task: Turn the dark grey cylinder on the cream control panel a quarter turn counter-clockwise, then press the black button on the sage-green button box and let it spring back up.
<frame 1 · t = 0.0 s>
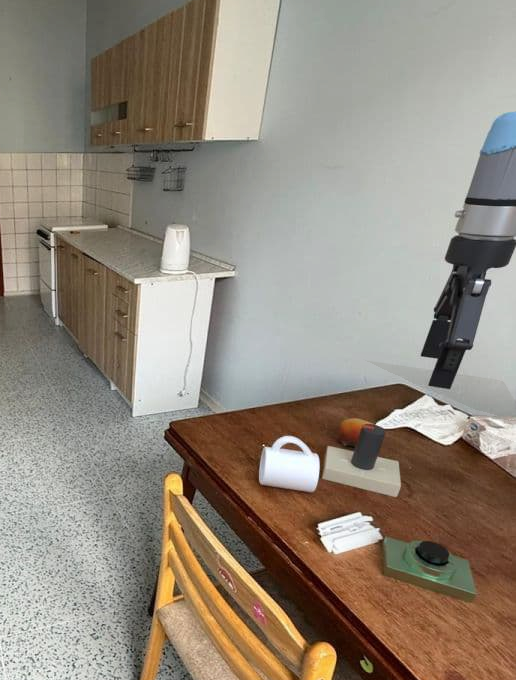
hand: (434, 371, 78), 31 cm above the table, tool pointing down, fingers open, 13 cm apart
button box: (423, 572, 80), on the table
panel: (358, 475, 105), on the table
fruit: (354, 444, 116), on the table
button: (432, 553, 78), point 4 cm above the table, slide at 0.1 cm
mug: (284, 485, 102), on the table
dark grey cylinder: (368, 446, 101), point 8 cm above the table, hinge at 0.0°
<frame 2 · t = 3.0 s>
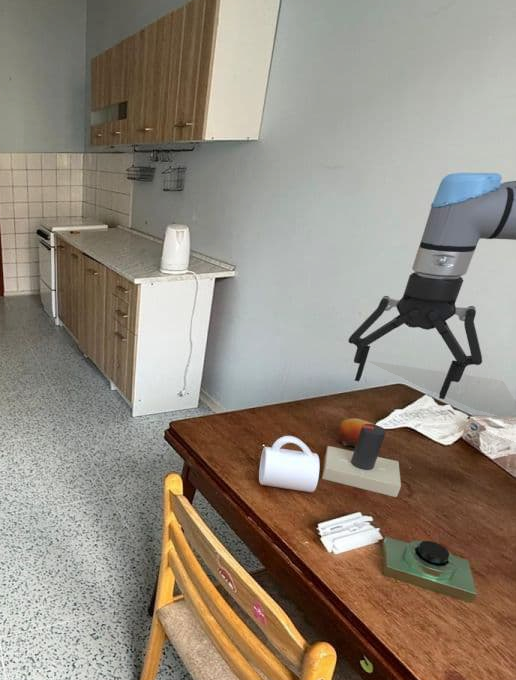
hand: (398, 387, 90), 24 cm above the table, tool pointing down, fingers open, 13 cm apart
nothing on the table moved.
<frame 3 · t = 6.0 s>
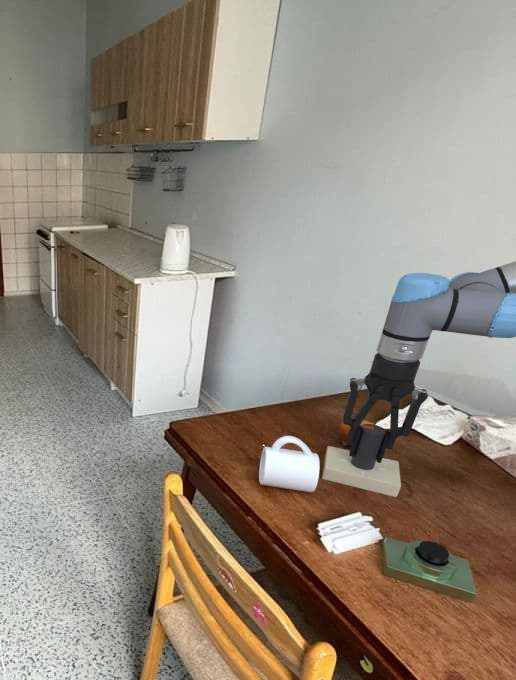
hand: (364, 456, 102), 5 cm above the table, tool pointing down, fingers closed on dark grey cylinder, 4 cm apart
dark grey cylinder: (368, 446, 101), point 8 cm above the table, hinge at 0.0°, touching gripper
everything else where it was.
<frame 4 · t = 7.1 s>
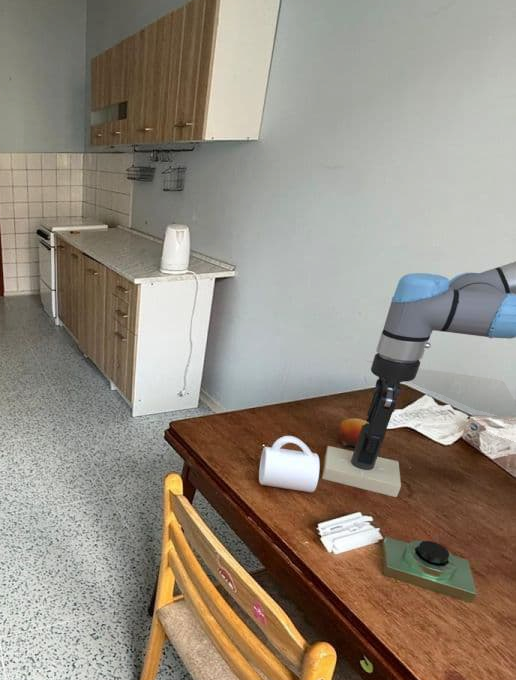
hand: (364, 456, 102), 5 cm above the table, tool pointing down, fingers closed on dark grey cylinder, 4 cm apart
dark grey cylinder: (368, 446, 101), point 8 cm above the table, hinge at 90.3°, touching gripper
everything else where it was.
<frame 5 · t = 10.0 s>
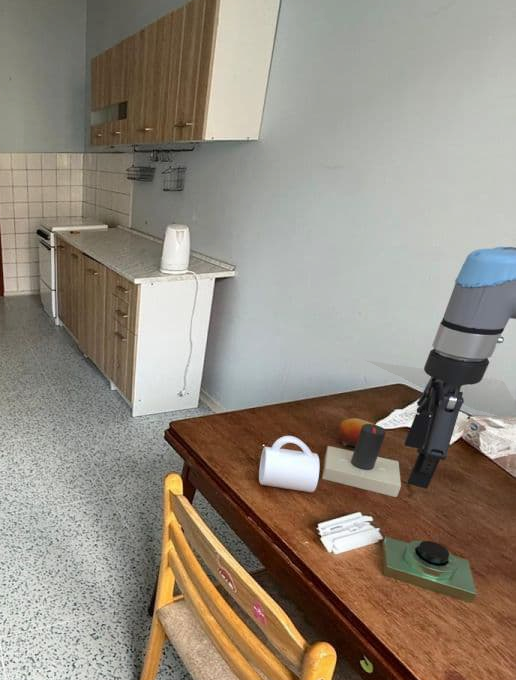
hand: (414, 464, 84), 14 cm above the table, tool pointing down, fingers open, 13 cm apart
dark grey cylinder: (368, 446, 101), point 8 cm above the table, hinge at 90.4°
everything else where it was.
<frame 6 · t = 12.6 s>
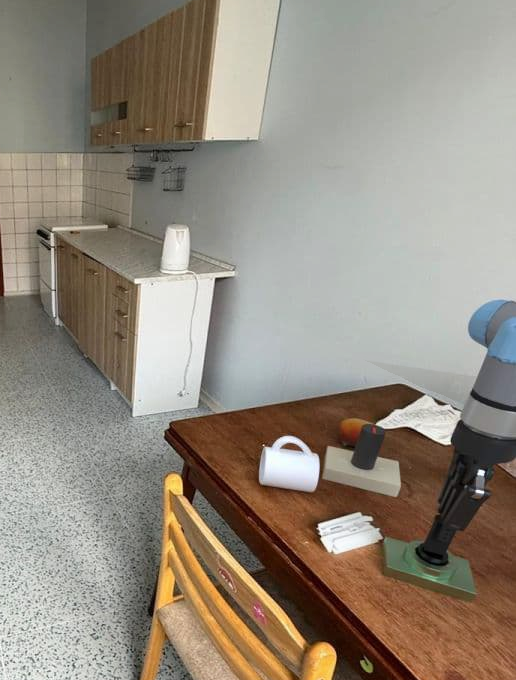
hand: (433, 549, 78), 5 cm above the table, tool pointing down, fingers closed
button: (431, 554, 78), point 4 cm above the table, slide at -0.3 cm, touching gripper
everything else where it was.
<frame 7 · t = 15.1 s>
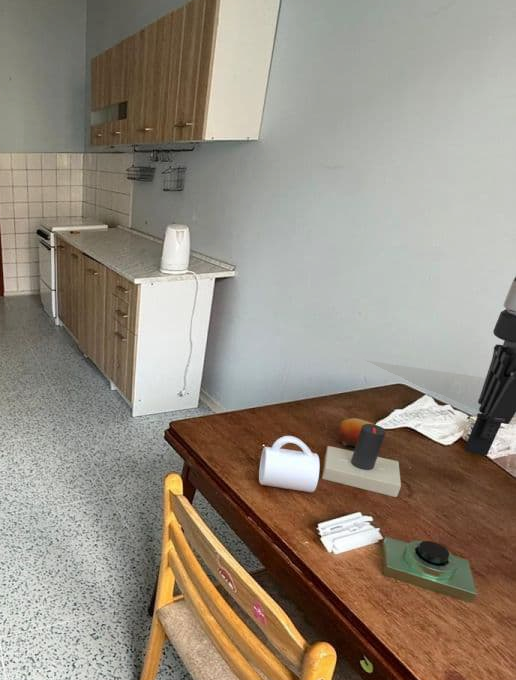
hand: (475, 451, 78), 19 cm above the table, tool pointing down, fingers closed
button: (432, 553, 78), point 4 cm above the table, slide at 0.1 cm
everything else where it was.
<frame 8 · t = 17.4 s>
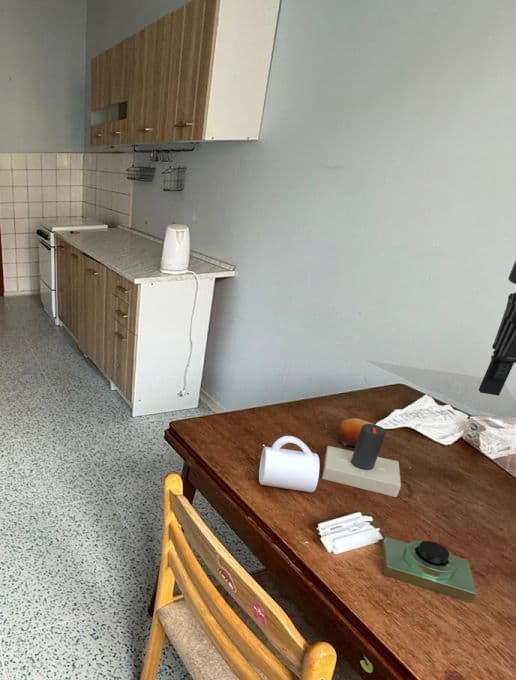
hand: (488, 392, 86), 24 cm above the table, tool pointing down, fingers closed
nothing on the table moved.
at the end: dark grey cylinder at +90° (first picture: +0°); button pushed in 1.0 cm at the most during the clip, back to where it started at the end; button slide at 0.1 cm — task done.
